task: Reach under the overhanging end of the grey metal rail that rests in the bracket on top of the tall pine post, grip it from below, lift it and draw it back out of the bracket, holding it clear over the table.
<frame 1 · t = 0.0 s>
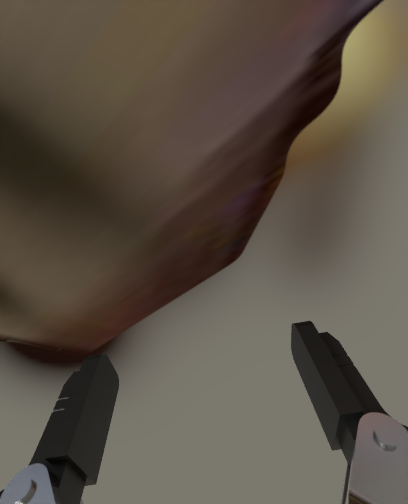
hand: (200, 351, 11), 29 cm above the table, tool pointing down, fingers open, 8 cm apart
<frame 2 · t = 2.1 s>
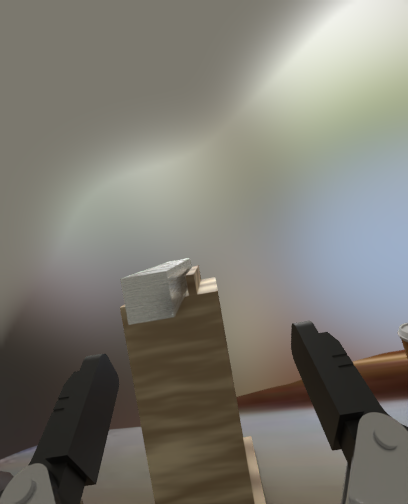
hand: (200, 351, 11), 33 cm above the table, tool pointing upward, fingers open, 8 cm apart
post: (213, 499, 38), on the table
rail: (173, 293, 35), point 32 cm above the table, touching post
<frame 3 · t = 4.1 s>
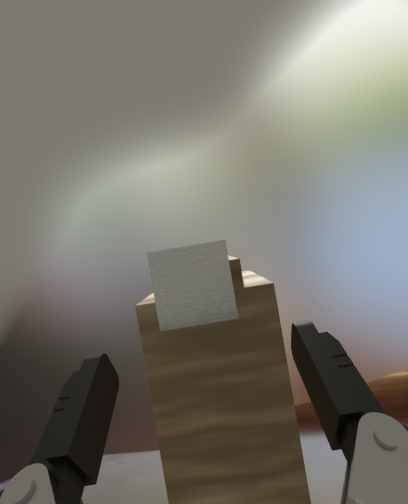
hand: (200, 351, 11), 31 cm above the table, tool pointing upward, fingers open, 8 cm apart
rail: (204, 287, 26), point 32 cm above the table, touching post
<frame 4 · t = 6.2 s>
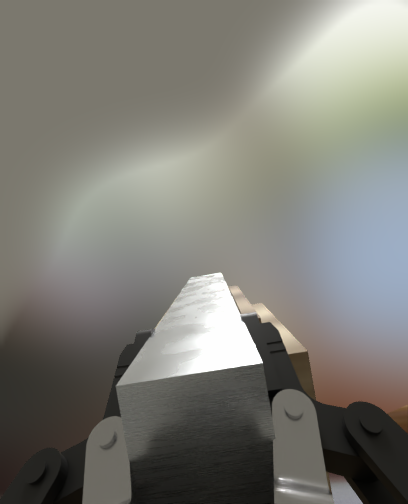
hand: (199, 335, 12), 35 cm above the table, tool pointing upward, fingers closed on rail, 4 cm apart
rail: (211, 342, 20), point 32 cm above the table, touching gripper, post
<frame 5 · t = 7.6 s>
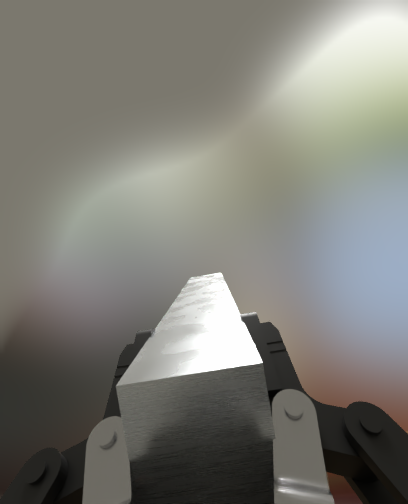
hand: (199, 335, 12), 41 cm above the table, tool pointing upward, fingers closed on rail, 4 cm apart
rail: (211, 342, 20), point 38 cm above the table, touching gripper
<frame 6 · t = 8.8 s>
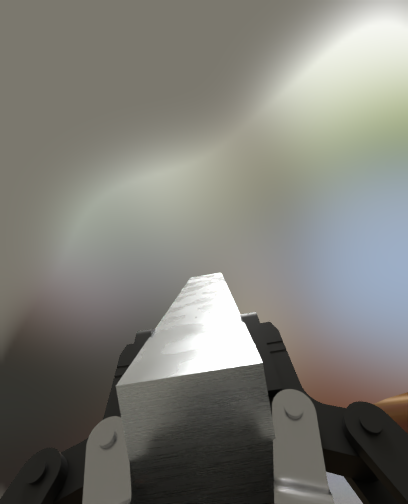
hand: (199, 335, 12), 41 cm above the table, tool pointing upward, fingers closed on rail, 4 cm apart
rail: (211, 342, 20), point 38 cm above the table, touching gripper
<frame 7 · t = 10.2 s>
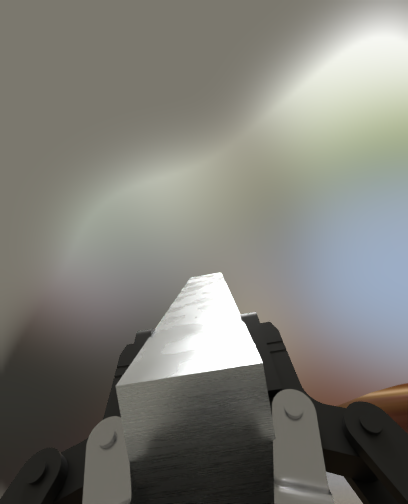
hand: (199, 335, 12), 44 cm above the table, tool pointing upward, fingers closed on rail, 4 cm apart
rail: (211, 342, 20), point 41 cm above the table, touching gripper
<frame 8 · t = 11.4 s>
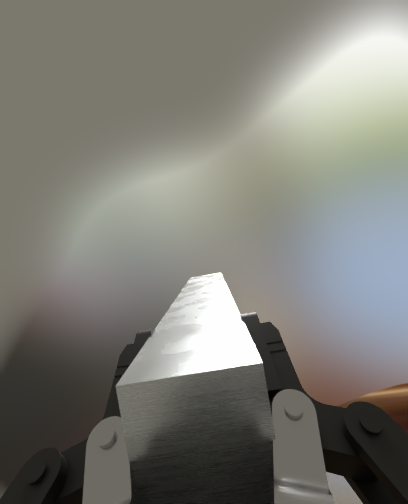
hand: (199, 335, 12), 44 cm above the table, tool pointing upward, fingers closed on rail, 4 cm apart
rail: (211, 342, 20), point 41 cm above the table, touching gripper
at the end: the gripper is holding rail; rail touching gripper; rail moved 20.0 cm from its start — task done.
